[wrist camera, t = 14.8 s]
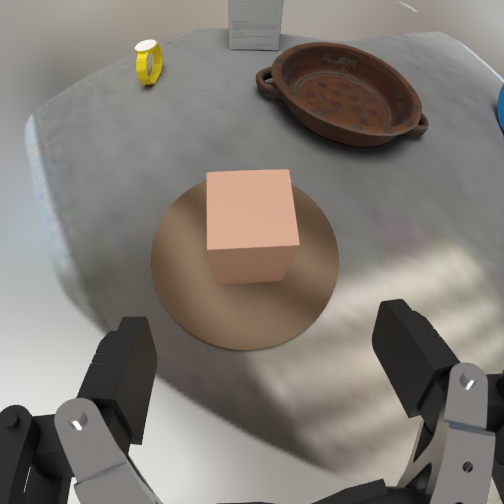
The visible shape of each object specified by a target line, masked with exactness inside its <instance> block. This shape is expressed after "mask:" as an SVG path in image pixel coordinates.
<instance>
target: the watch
mask: <svg viewBox="0 0 504 504" xmlns="http://www.w3.org/2000/svg"><path fill="white" fill-rule="evenodd" d="M135 51H136V53H137V54H138V56H137V61H136V70H137V76H138V79H139V81H140V82H141V84H143V85H149V84H156V83H155V82H156V80H157V79H158V77H159V75H160V73H161V71H162V63H163V59H162V50H161V47H160V45H159V44H158V43H157V42H156V41H155V40H145V41H142V42H140V43H139V44H137V45H136V47H135ZM151 52H152V55H153V66H152V72H151V74H150V76H148V71H147V59H148V55H149V53H151Z"/></svg>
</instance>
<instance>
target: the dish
mask: <svg viewBox="0 0 504 504" xmlns="http://www.w3.org/2000/svg"><path fill="white" fill-rule="evenodd" d="M270 78H273V80H274V84H268V83H266V82H265V80H267V79H270ZM256 83H257V86H258V88H259V89H260V91H262V92H263V93H265V94H267V95H270V96H273V97H276V98H278V99H280V100H282V101H284V102H285V103H286V105H287V106H288V108H289V110H290V111H291V113H292V114H293V116H294V117H295V118H296V119H297V120H299V121H300V122H301V123H302V124H303V125H305V126H306V127H307V128H309V129H311V130H312V131H314V132H316V133H317V134H319V135H321V136H323V137H326V138H328V139H331V140H334V141H337V142H340V143H344V144H348V145H353V146H377V145H381V144H384V143H387V142H389V141H391V140H392V139H394V138H395V137H396V136H398V135H400V134H403V133H405V134H407V135H413V136H421V135H423V134H424V133H425V131H426V130H427V129H428V126H429V124H428V120H427V118H426V117H425V116H424V115H423V113H422V110H421V109H422V106H421V101H420V99H419V97H418V95H417V93H416V92H415V90H414V89H413V87H412V86H411V85H410V83H409V82H408V81H407V80H406V79H405V78H404V77H403V76H402V75H401V74H400V73H399V72H398V71H397V70H395V69H394V68H393V67H391V66H390V65H388V64H387V63H385V62H384V61H382V60H381V59H379V58H377V57H375V56H373V55H371V54H369V53H367V52H364V51H362V50H360V49H357V48H354V47H351V46H347V45H343V44H335V43H327V42H313V43H306V44H301V45H297V46H294V47H292V48H290V49H288V50H286V51H285V52H283V53H282V54H281V55H279V56H278V57H277V58H276V60H275V61H274V63H273V65H272V67H269V68H265V69H263V70H261V71H259V72H258V73H257V74H256Z"/></svg>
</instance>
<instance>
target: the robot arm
mask: <svg viewBox="0 0 504 504" xmlns="http://www.w3.org/2000/svg"><path fill="white" fill-rule="evenodd" d="M372 345H373V349H374V352H375V354H376V356H377V358H378V359H379V361H380V363H381V365H382V367H383V369H384V371H385V373H386V375H387V376H388V378H389V380H390V382H391V384H392V386H393V388H394V390H395V392H396V394H397V396H398V398H399V400H400V402H401V404H402V406H403V408H404V410H405V412H406V414H407V416H408V418H412V417H415V416H418V415H421V416H422V418H423V420H422V422H421V423H420V426H419V430H418V433H417V437H416V440H415V444H414V447H413V450H412V453H411V457H410V460H409V463H408V466H407V468H406V470H405V472H404V474H403V475H402V477H401V479H400V480H399V482H398V484H397V486H396V487H391V486H387V487H386V485H385V483H384V480H383V479H380V480H376V481H373V482H369V483H366V484H362V485H358V486H354V487H350V488H346V489H344V490H342V491H340V492H338V493H335V494H333V495H331V496H329V497H326V498H324V499H322V500H319V501H317V502H315V503H312V504H486V502H487V497H488V492H489V487H490V481H491V476H492V478H493V480H494V483H495V485H496V488H497V490H498V493H499V495H500V498H501V500H502V503H503V504H504V370H503V372H502V373H501V374H488V375H485V373H484V372H483V370H482V369H480V368H479V367H478V366H476V365H474V364H471V363H461V362H460V361H459V360H458V358H457V357H456V356H455V354H454V353H453V352H452V350H451V349H450V348H449V346H448V345H447V344H446V343H445V341H444V340H443V339H442V337H439V334H438V332H437V331H436V330H435V329H433V326H432V325H431V323H430V322H429V321H428V320H427V319H426V318H425V317H424V316H422V315H421V314H419V313H418V312H416V311H412V310H411V308H410V307H409V306H408V305H407V303H406V302H405V301H404V300H403V299H396V300H388V301H383V302H381V304H380V306H379V310H378V315H377V319H376V323H375V327H374V331H373V335H372ZM156 368H157V353H156V349H155V345H154V342H153V338H152V335H151V331H150V327H149V323H148V320H147V318H146V317H123V319H122V321H121V323H120V325H119V328H118V330H117V331H110V332H109V333H108V334H107V335H106V336H105V337H104V338H103V339H102V340H101V341H100V343H99V346H98V348H97V350H96V354H95V355H94V357H93V359H92V364H90V366H89V368H88V371H87V373H86V376H85V378H84V380H83V383H82V385H81V388H80V390H79V393H78V395H77V397H76V398H75V399H71V400H68V401H66V402H65V403H63V404H62V405H61V406H60V407H59V408H58V410H57V412H56V414H51V415H42V416H32V415H31V414H30V413H29V411H28V410H27V409H26V408H25V407H23V406H20V405H12V406H9V407H7V408H5V409H4V410H3V411H2V412H1V413H0V504H67V501H68V495H69V489H70V483H71V478H72V477H76V480H77V483H76V484H74V489H75V493H76V495H77V497H78V499H79V501H80V503H81V504H163V503H162V502H161V501H160V500H159V498H158V497H157V496H156V494H155V493H154V492H153V490H152V489H151V487H150V486H149V484H148V483H147V482H146V480H145V479H144V477H143V476H142V475H141V473H140V471H139V470H138V469H137V467H136V465H135V464H134V462H133V461H132V459H131V458H130V456H129V455H128V452H129V447H130V444H136V445H142V439H143V434H144V428H145V423H146V417H147V411H148V406H149V401H150V397H151V392H152V387H153V382H154V378H155V373H156ZM30 467H31V468H30ZM29 468H30V472H29ZM28 472H29V476H28ZM27 476H28V479H27ZM26 480H27V483H26ZM25 484H26V487H25ZM24 488H25V492H24ZM223 504H273V503H264V502H250V503H223Z"/></svg>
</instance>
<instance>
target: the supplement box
mask: <svg viewBox="0 0 504 504" xmlns="http://www.w3.org/2000/svg"><path fill="white" fill-rule="evenodd" d="M283 1H284V0H228V17H229V46H230V50H238V49H245V50H278V47H279V38H280V29H281V19H282V10H283Z"/></svg>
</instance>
